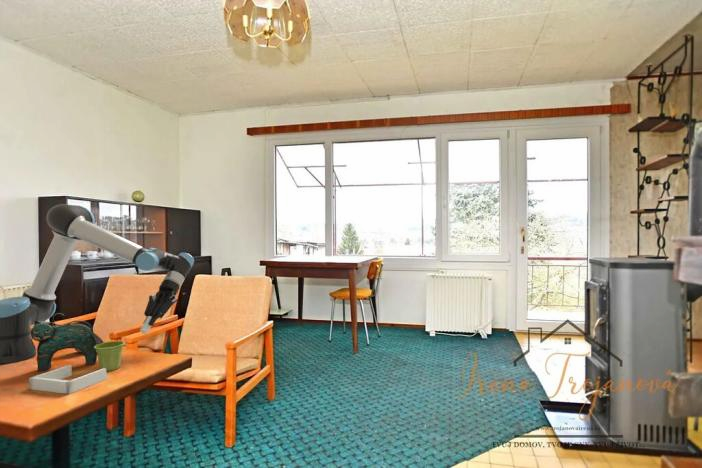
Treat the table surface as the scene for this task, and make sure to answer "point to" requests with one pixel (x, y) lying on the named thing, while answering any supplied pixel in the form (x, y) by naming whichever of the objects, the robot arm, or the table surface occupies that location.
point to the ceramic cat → (63, 341)
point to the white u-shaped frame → (54, 384)
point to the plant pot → (109, 354)
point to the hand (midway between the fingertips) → (143, 332)
